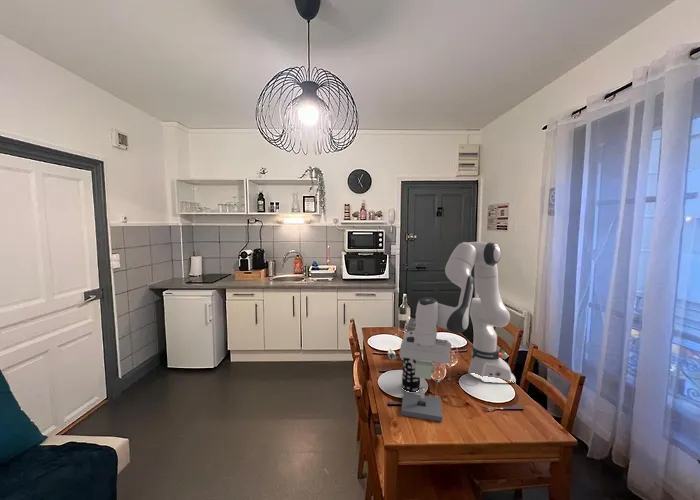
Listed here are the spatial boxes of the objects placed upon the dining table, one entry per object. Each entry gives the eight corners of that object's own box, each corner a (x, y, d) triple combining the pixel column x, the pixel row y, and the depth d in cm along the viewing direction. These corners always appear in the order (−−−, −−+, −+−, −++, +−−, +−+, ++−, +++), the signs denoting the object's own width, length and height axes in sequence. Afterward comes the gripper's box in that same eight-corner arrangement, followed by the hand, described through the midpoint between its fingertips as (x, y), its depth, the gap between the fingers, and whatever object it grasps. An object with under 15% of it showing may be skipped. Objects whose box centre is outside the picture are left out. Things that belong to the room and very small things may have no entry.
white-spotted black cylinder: (399, 389, 146) (401, 348, 144) (404, 382, 154) (406, 342, 152) (416, 395, 142) (419, 352, 141) (421, 386, 150) (424, 346, 148)
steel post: (423, 405, 133) (424, 387, 132) (423, 408, 131) (424, 390, 130) (419, 404, 133) (420, 387, 133) (419, 407, 132) (420, 389, 131)
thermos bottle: (418, 362, 176) (421, 313, 174) (421, 368, 168) (424, 317, 166) (404, 361, 176) (406, 312, 174) (406, 368, 168) (408, 317, 166)
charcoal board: (440, 402, 137) (440, 397, 137) (442, 421, 124) (442, 417, 124) (403, 396, 141) (403, 392, 141) (401, 414, 127) (401, 410, 127)
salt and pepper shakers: (408, 362, 176) (408, 354, 187) (409, 355, 176) (408, 347, 187) (387, 359, 178) (388, 352, 189) (387, 352, 178) (388, 345, 189)
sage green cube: (430, 372, 133) (431, 359, 133) (430, 379, 127) (431, 366, 126) (415, 370, 135) (416, 357, 134) (414, 377, 128) (415, 364, 128)
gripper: (451, 338, 130) (448, 370, 131) (401, 332, 135) (399, 363, 136) (452, 343, 124) (449, 377, 125) (400, 337, 129) (398, 369, 130)
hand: (423, 369), depth 131 cm, fingers closed on sage green cube, 6 cm apart
